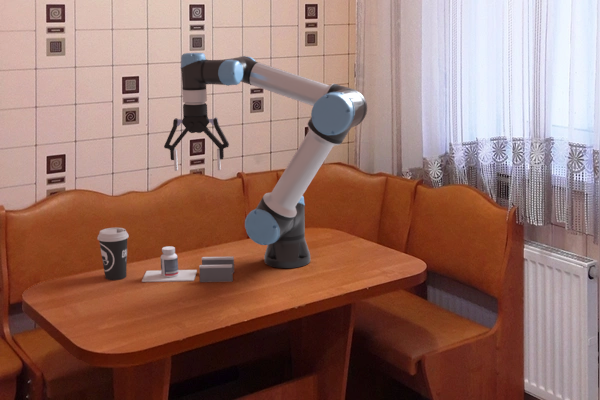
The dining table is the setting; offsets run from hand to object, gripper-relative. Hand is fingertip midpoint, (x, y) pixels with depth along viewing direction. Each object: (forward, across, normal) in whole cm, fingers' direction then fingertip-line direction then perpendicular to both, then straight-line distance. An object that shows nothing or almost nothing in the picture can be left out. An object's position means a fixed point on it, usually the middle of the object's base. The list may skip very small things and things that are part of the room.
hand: (197, 169), depth 269 cm
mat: (+32, +9, +11) cm, 35 cm away
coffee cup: (+32, +26, +10) cm, 42 cm away
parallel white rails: (+32, -6, +12) cm, 35 cm away
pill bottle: (+31, +9, +11) cm, 35 cm away
